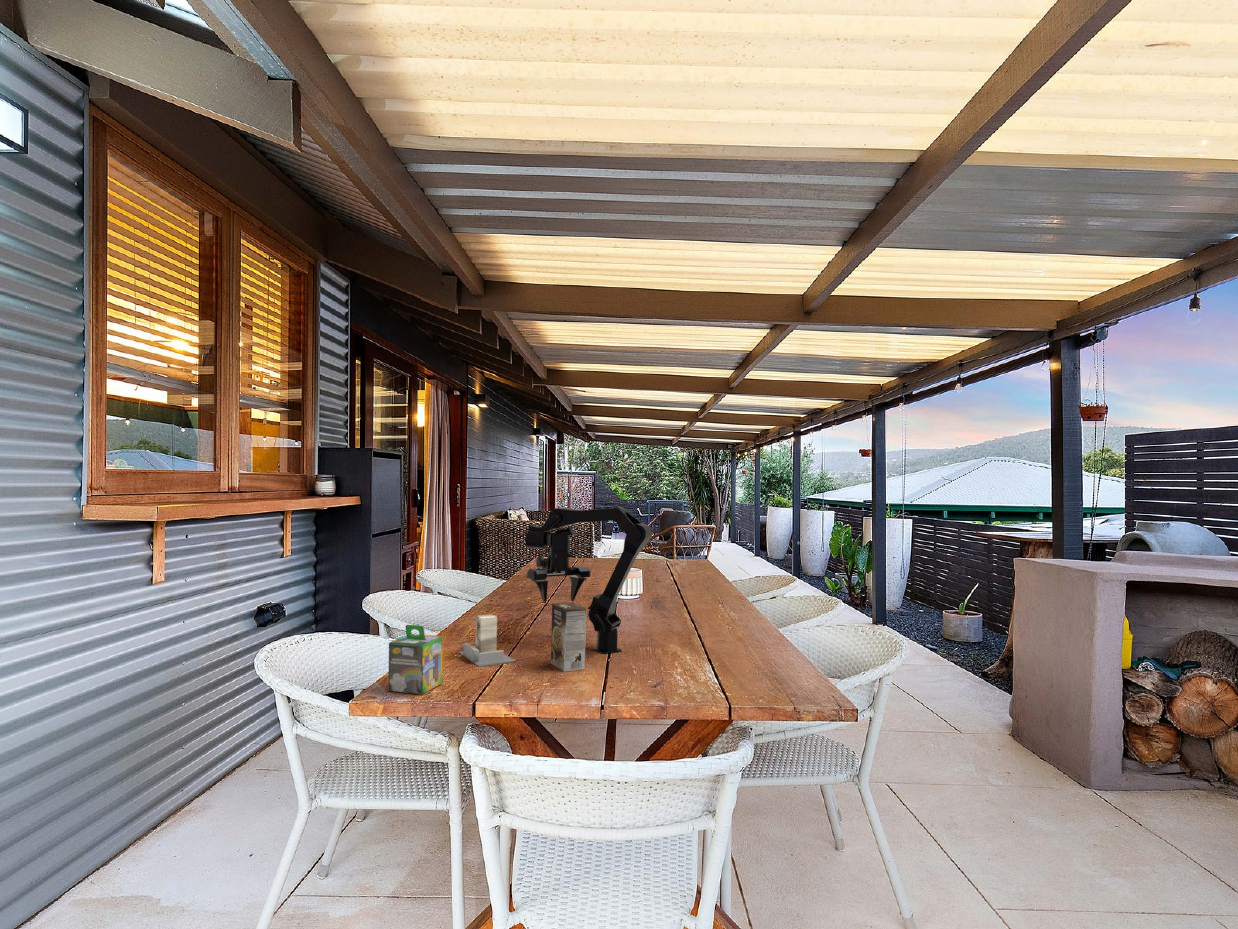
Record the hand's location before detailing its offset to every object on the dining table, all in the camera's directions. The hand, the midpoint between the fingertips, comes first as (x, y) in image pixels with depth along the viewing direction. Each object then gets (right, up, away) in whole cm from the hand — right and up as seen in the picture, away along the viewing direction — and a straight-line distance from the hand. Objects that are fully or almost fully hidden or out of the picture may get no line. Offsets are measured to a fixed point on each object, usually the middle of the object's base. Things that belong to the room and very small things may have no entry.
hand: (558, 602), depth 202 cm
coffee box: (+4, -13, -23) cm, 27 cm away
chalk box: (-30, -11, -44) cm, 54 cm away
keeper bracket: (-19, -12, -16) cm, 28 cm away
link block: (-19, -12, -16) cm, 27 cm away
